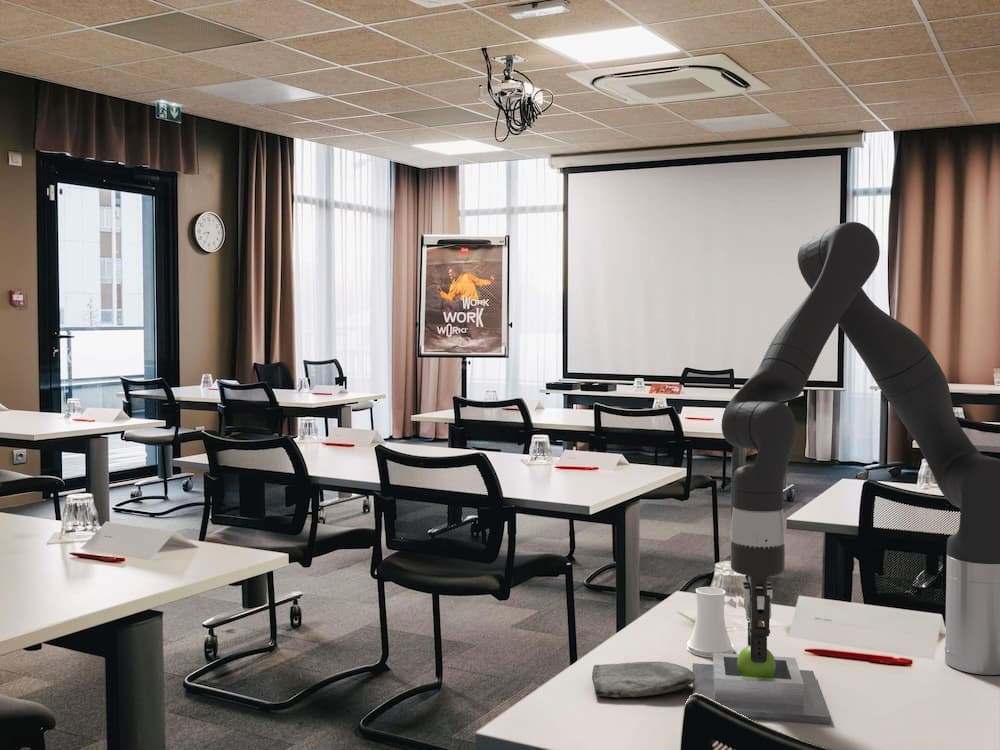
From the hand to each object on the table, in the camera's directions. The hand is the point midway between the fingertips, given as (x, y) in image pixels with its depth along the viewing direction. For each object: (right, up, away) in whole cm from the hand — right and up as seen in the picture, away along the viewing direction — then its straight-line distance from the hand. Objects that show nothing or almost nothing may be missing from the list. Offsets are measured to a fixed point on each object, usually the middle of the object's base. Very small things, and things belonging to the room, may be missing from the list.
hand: (757, 653), depth 138 cm
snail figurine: (0, -4, 0) cm, 4 cm away
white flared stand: (-2, -5, +20) cm, 21 cm away
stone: (-16, -7, +3) cm, 18 cm away
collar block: (0, -6, 0) cm, 6 cm away
